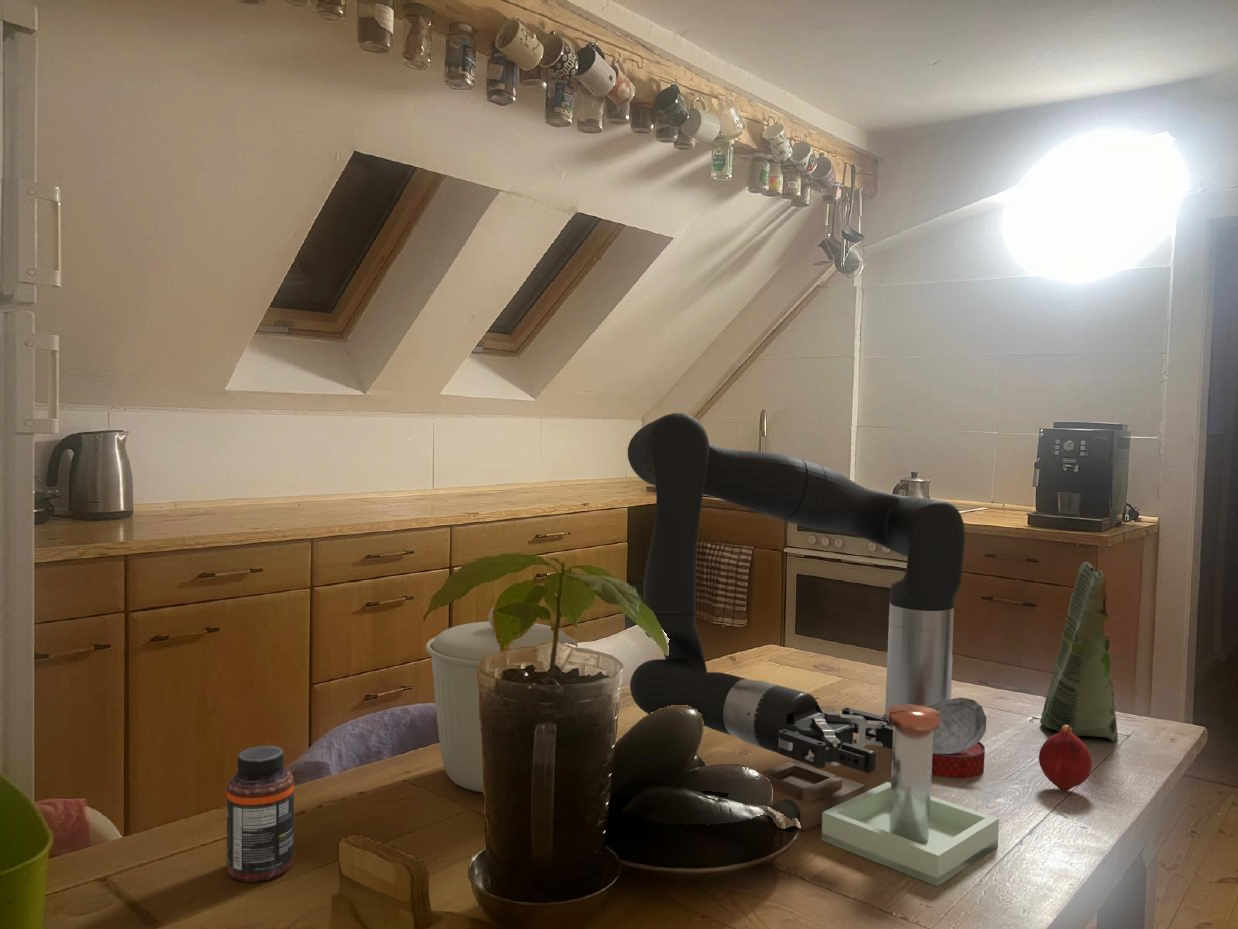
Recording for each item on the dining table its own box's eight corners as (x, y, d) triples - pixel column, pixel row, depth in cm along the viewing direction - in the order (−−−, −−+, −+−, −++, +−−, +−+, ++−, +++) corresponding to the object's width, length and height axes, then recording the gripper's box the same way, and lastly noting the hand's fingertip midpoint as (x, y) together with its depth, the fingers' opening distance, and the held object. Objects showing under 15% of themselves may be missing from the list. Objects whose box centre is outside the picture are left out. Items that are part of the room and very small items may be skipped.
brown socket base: (793, 777, 116) (794, 753, 116) (864, 802, 109) (865, 776, 108) (722, 805, 106) (723, 780, 106) (795, 835, 99) (796, 807, 99)
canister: (575, 752, 122) (579, 593, 121) (573, 809, 104) (578, 622, 103) (436, 751, 122) (439, 590, 121) (410, 808, 104) (413, 619, 103)
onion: (1096, 802, 110) (1099, 735, 110) (1044, 797, 111) (1047, 731, 111) (1082, 784, 116) (1085, 720, 116) (1032, 779, 117) (1035, 716, 117)
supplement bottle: (238, 855, 91) (239, 741, 91) (300, 854, 92) (301, 741, 91) (217, 885, 85) (218, 763, 85) (283, 884, 86) (285, 763, 85)
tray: (886, 807, 107) (887, 781, 107) (997, 846, 98) (999, 818, 98) (821, 840, 98) (822, 812, 98) (937, 886, 89) (938, 855, 89)
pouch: (1072, 716, 144) (1080, 555, 143) (1145, 741, 133) (1154, 566, 132) (1020, 725, 139) (1028, 558, 138) (1091, 751, 128) (1100, 570, 127)
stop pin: (899, 821, 102) (904, 701, 101) (944, 837, 98) (949, 712, 97) (873, 834, 98) (878, 710, 97) (919, 851, 94) (924, 722, 94)
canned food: (983, 810, 119) (1006, 755, 114) (903, 797, 120) (923, 742, 114) (966, 743, 129) (987, 690, 124) (892, 731, 129) (910, 678, 124)
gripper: (734, 696, 106) (860, 733, 94) (806, 675, 116) (929, 706, 104) (732, 761, 106) (857, 806, 94) (804, 735, 116) (926, 772, 104)
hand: (895, 753), depth 99 cm, fingers open, 8 cm apart
